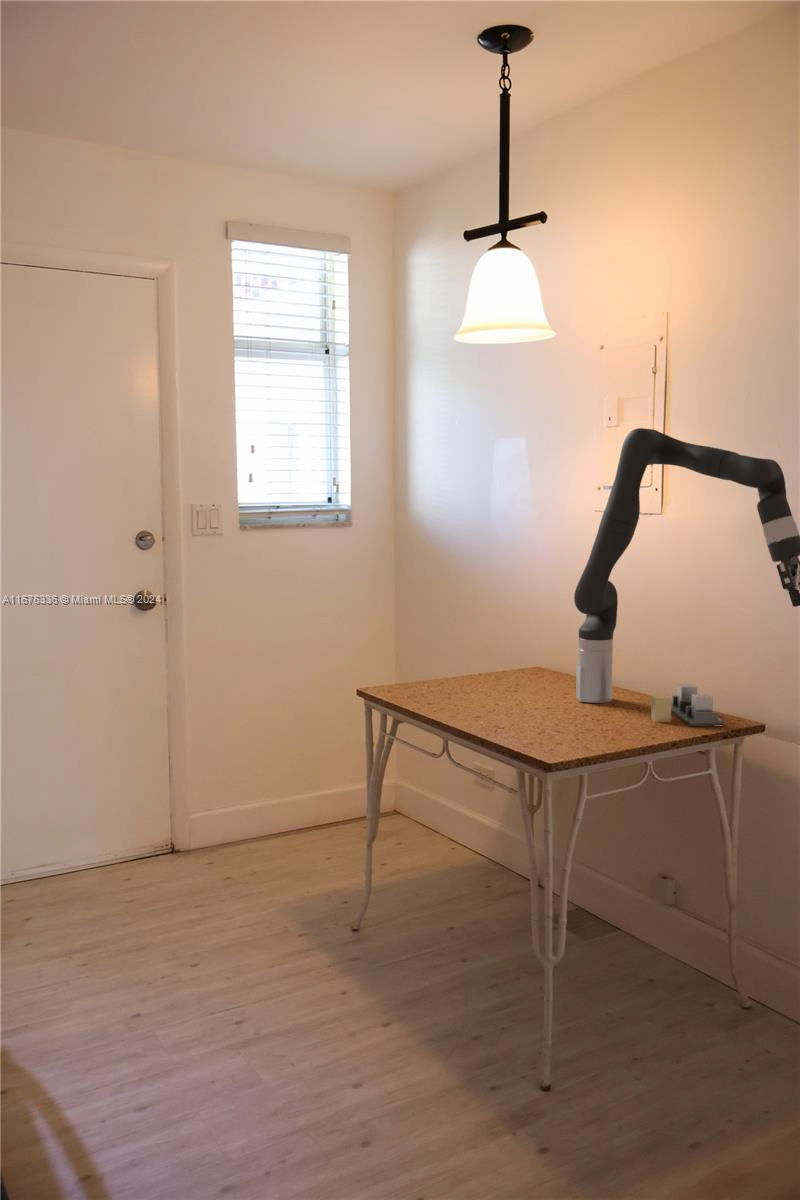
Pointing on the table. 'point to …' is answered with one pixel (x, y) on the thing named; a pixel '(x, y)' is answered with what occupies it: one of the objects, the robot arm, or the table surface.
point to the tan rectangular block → (661, 708)
